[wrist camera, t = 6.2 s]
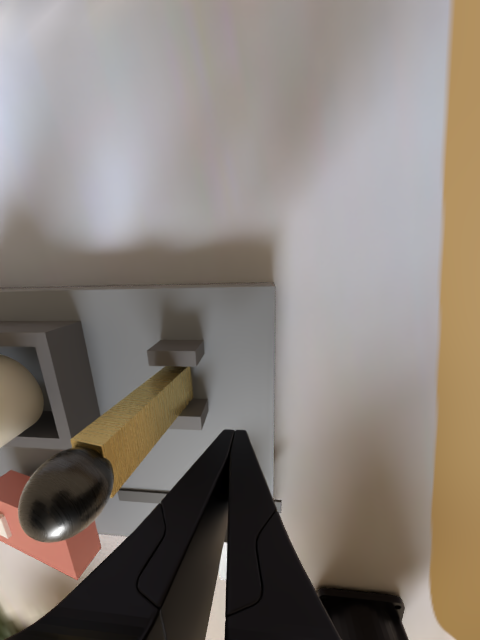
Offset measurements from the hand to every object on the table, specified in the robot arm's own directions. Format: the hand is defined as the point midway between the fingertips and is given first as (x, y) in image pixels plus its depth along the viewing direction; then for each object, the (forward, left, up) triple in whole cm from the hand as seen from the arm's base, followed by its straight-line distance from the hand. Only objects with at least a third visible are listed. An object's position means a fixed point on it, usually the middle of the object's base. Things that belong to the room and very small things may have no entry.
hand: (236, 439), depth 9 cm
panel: (+8, +4, -6) cm, 11 cm away
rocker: (+13, +9, -3) cm, 16 cm away
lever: (+3, 0, -4) cm, 6 cm away
